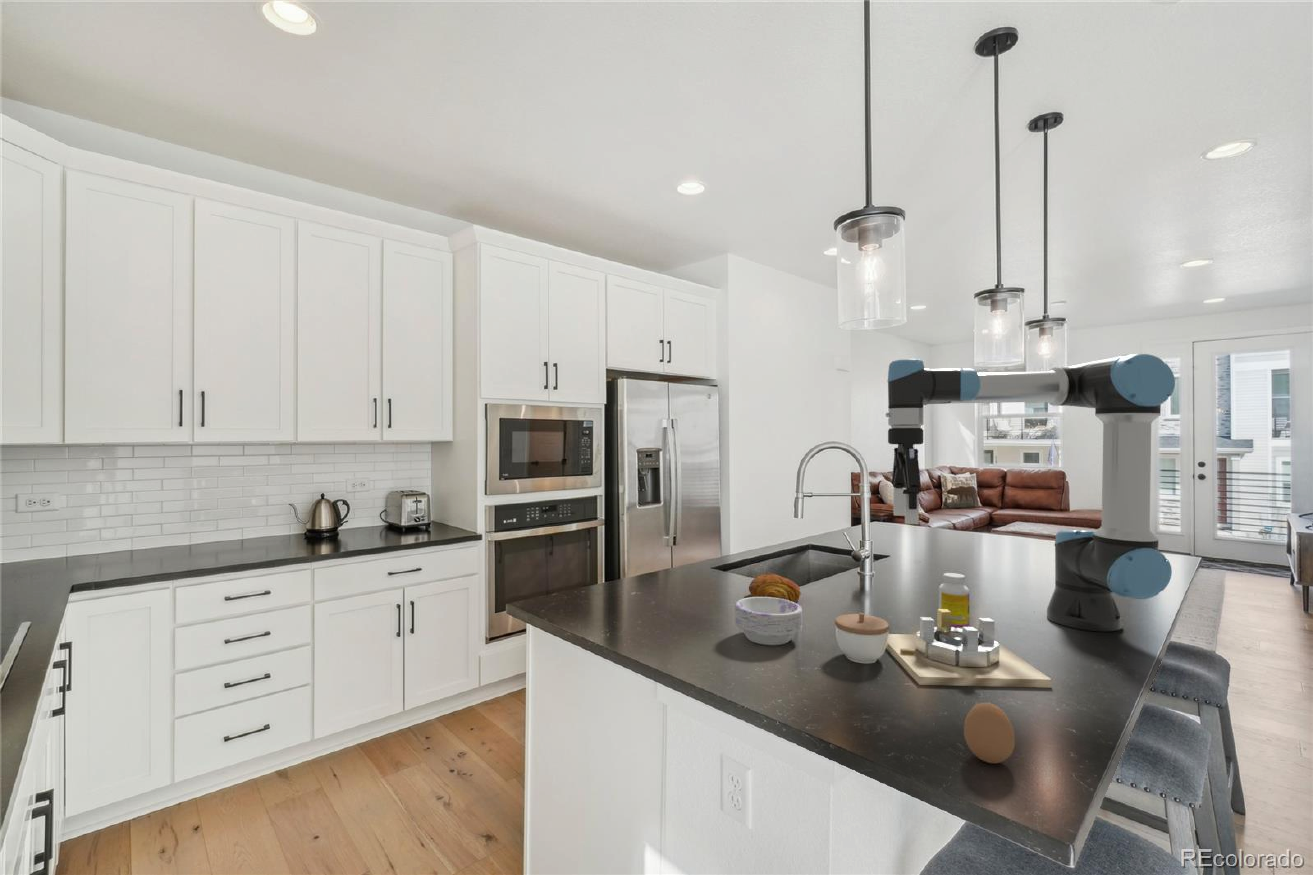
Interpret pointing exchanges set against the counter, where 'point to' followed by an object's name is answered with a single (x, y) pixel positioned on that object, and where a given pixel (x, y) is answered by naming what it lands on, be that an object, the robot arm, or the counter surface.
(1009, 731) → the egg
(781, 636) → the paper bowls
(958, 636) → the dark grey dome
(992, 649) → the ring nut
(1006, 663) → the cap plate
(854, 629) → the lidded jar
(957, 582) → the supplement bottle
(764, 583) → the croissant
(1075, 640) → the counter surface
